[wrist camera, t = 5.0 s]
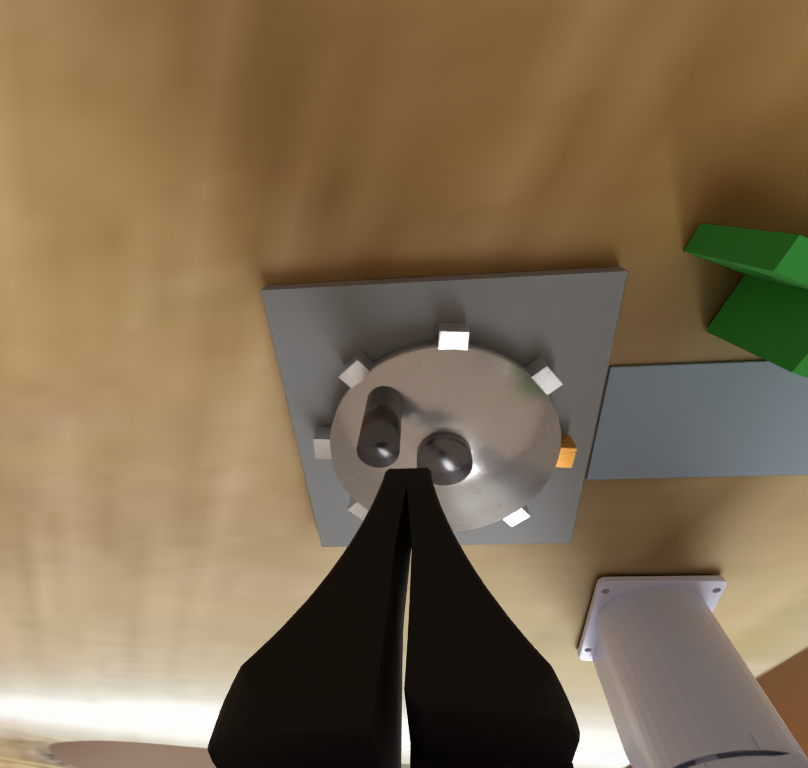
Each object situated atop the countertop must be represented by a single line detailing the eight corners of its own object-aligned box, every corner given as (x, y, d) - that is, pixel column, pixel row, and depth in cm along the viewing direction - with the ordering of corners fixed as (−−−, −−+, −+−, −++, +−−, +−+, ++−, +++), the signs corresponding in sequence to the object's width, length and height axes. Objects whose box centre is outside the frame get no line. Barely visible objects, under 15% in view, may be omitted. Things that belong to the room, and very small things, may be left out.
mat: (828, 470, 22) (833, 473, 21) (584, 476, 22) (586, 479, 22) (898, 353, 18) (905, 355, 18) (608, 364, 19) (610, 367, 19)
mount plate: (566, 532, 24) (570, 543, 24) (324, 536, 25) (321, 546, 24) (619, 266, 17) (628, 271, 16) (267, 285, 17) (260, 290, 17)
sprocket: (619, 446, 20) (669, 517, 16) (432, 556, 24) (435, 633, 20) (457, 260, 16) (471, 294, 12) (267, 434, 20) (231, 500, 16)
